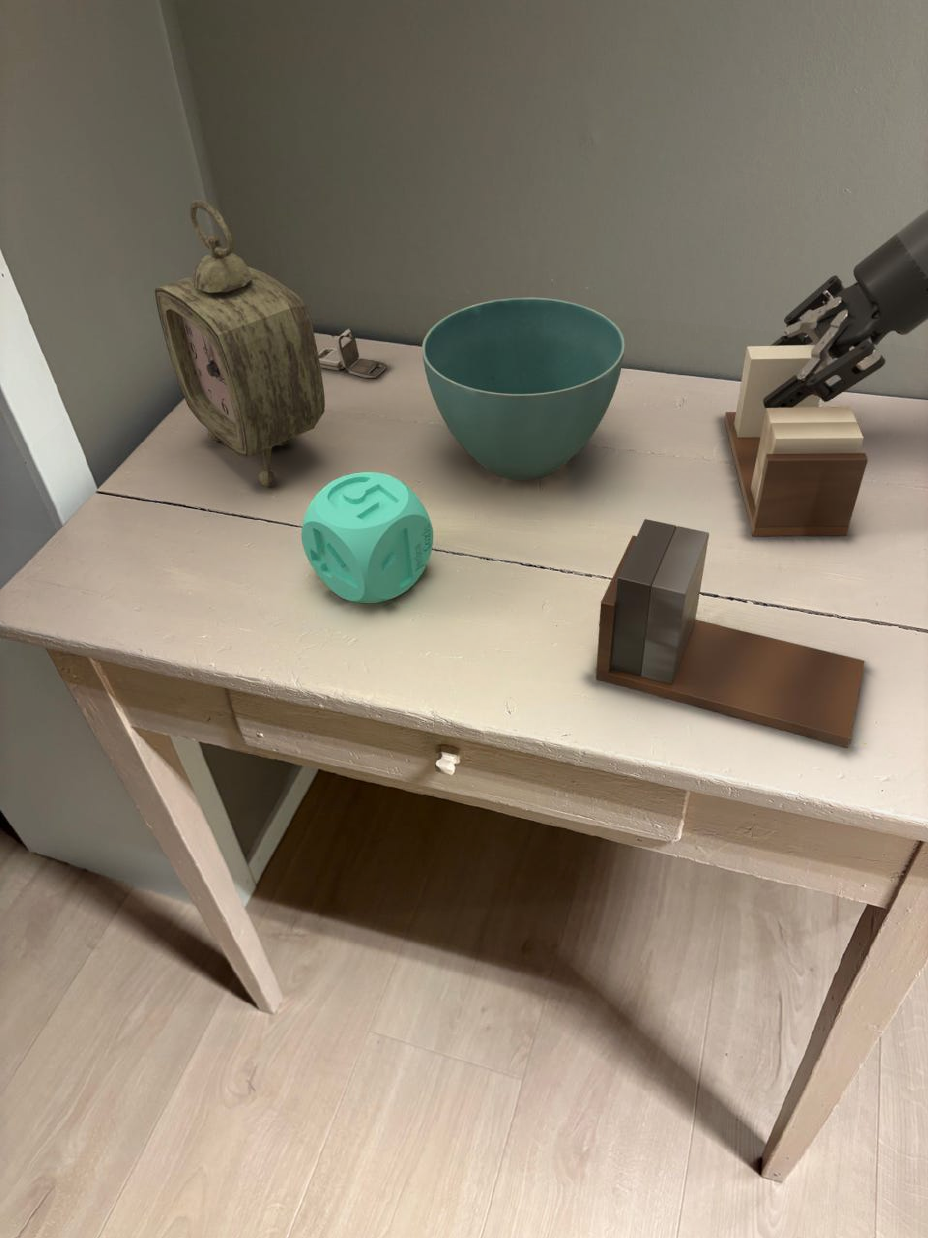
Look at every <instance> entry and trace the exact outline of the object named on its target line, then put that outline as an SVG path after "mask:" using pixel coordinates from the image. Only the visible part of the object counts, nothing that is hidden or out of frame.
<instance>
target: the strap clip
mask: <svg viewBox="0 0 928 1238" xmlns="http://www.w3.org/2000/svg"><path fill="white" fill-rule="evenodd" d="M346 336H348V337H349V340H348V341H346V342H345V343H344V344H343V345H342V340H343V339H344V338H345V337H346ZM336 347H337V348H334V347H331V348H330V347H327V348H323V349H321V351H320V352H318V356H319V361H320V367H321V369H328V370H332V371H340V370H343V369H345V370H347V371H348V373H349V374H350V375H353V376H358V377H361V378H367V379H368V378H369V379H372V378H376V377H379V375H380V374H381V373H383V371H384V370H385V369H386V368H387V364H386V363H385V362H381V361H378V360H372V359H366V358H360V353H359V350H358V344H357V341H356V336H355V334H354V331H353V329H352V328H348V329H346V330H344V332H342V334H340V335H339V336H337V339H336ZM376 368H379V369H377V370H376V371H375V372H374V373H372V371H373V370H374V369H376Z"/></svg>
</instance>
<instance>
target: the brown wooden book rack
mask: <svg viewBox="0 0 928 1238" xmlns="http://www.w3.org/2000/svg"><path fill="white" fill-rule="evenodd" d="M735 416H736V411H726V412H725V413H724V424H725V428H726V434H727V437H728V440H729V445H730V448H731V452H732V456H733V457H732V458H733V461H734V464H735V470H736V472H737V476H738V481H739V484H740V485H739V486H740V488H741V493H742V497H743V502H744V505H745V510H746V513H747V518H748V520H749V521H748V522H749V525H750V530H751V533H752V536H753V537H783V536H785V537H794V536H795V537H802V536H803V537H810V536H812V537H813V536H817V537H819V536H821V537H822V536H824V537H825V536H826V537H827V536H830V537H831V536H832V537H833V536H834V537H836V536H839V537H840V536H841V537H842V536H847V534H848V531H849V526H850V523H851V520H852V517H853V513H854V510H855V505H856V502H857V499H858V496H859V492H860V489H861V485H862V482H863V480H864V479H863V478H864V476H865V472H866V469H867V464H868V461H869V458H868V456H867V453H866V452H861V449H862V445H863V442H864V436H863V433H862V431H861V428H860V426H859V423H858V421H857V419H856V417H855V414H854V412H853V409H852V407H851V406H824V407H823V406H822V407H821V406H818V407H807V408H766V412H765V417H764V423H763V428H762V433H761V437H756V438H738V437H737V433H736V430H735V426H734V422H735Z"/></svg>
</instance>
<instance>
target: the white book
mask: <svg viewBox="0 0 928 1238" xmlns="http://www.w3.org/2000/svg"><path fill="white" fill-rule="evenodd" d="M815 346H816V345H794V346H770V345H748V346H746V351H745V357H744V363H743V369H742V375H741V381H740V387H739V393H738V399H737V403H736V404H737V405H736V411H735V412H736V416H735V422H734V426H735V430H736V433H737V437H738V438H756V437H761V433H762V428H763V423H764V417H765V412H766V408H765V407H764V404H763V399H764V398H765V397H766V396H768V395H769V394H770V393H772V392H773V391H774V390H776V389H777V388H778V387H780V386H781V385H782V384H784V383H785V382H786V381H788V380H789V379H790V378H792V377H793V376H794V375H796V376H798V374H799V372H800V371H801V370H802V369H803V368H804V366H805V365H806V364H807V363H808V362H809V360H810V359H811V351H812V349H813V348H814V347H815ZM822 369H823V367H822V366H821V365H820V366H819V368H818V369H817V370H816V371H815V373H814V374H816V373H817V372H819V371H820V370H822ZM820 400H821V398H820V397H818V396H814V395H810V396H808V397H807V398H805V399H804V400H803V401H801V402H800V403H798V404H797V405H796V406H794V407H793V408H807V407H819V404H820Z"/></svg>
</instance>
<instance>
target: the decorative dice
mask: <svg viewBox="0 0 928 1238" xmlns="http://www.w3.org/2000/svg"><path fill="white" fill-rule="evenodd" d="M300 535H301V536H300V537H301V543H302V549H303V550H304V553H305V556H306V558H307V560H308V562H309V564H310V566H311V567H312V569H313V571H314V572H315V574H316V575H317V576H318V578H319V579H320V580H321V581H322V582H323V584H324V585H325V586H326V587H327V588H328V589H329V590H331V591H332V592H333V593H334V594H336V595H337V596H338V597H340V598H341V599H344V600H345V601H350V602H353V603H359V604H376V603H377V604H379V603H383V602H386V601H390V600H392V599H395V598H397V597H399V596H401V595H402V594H404V593H405V592H407V591H408V590H409V589H410V588H411V587H412V586H413V585H415V584H416V582H417V581H418V580H419V578H420V577H421V575H422V574H423V572H424V571H425V570H426V568H427V565H428V563H429V561H430V558H431V555H432V551H433V546H434V528H433V524H432V521H431V518H430V515H429V513H428V511H427V509H426V508H425V505H424V504H423V502H422V500H421V499H420V498H419V496H418V495H417V494H416V493H415V492H414V490H412V488H410V487H409V486H408V485H407V484H406V483H405V482H403V481H401V479H398V478H396V477H394V476H392V475H390V474H386V473H383V472H375V471H362V472H355V473H350V474H346V475H342V476H340V477H338V478H336V479H333V480H332V481H330V482H329V483H328V484H326V485H325V486H324V487H322V489H320V491H318V493H317V494H316V495H315V496H314V498H313V499H312V501H311V502H310V503H309V506H308V508H307V510H306V512H305V514H304V517H303V519H302V526H301V534H300Z"/></svg>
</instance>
